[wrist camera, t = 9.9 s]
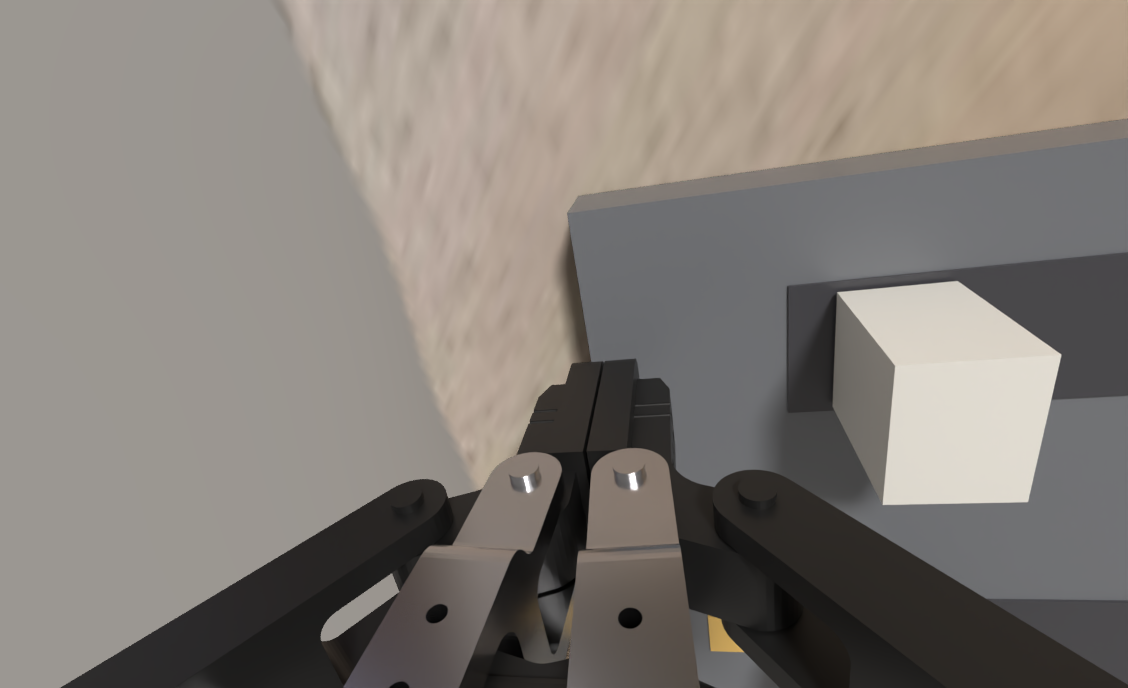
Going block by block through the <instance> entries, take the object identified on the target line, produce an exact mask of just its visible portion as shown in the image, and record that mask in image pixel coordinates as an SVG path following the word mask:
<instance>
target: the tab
mask: <svg viewBox="0 0 1128 688" xmlns="http://www.w3.org/2000/svg"><path fill="white" fill-rule="evenodd" d="M1060 359H1061V354H1060V353H1058V352H1057V351H1056V350H1054V349H1053V348H1051V347H1050V346H1049V345H1047V344H1046V343H1044V342H1043V341H1042V340H1040V339H1039V338H1037V337H1036V336H1034V335H1033V334H1032V333H1030V332H1029V331H1027V330H1026V329H1025V328H1023V327H1022V326H1020V325H1019V324H1018V323H1016V322H1015V321H1013V320H1012V319H1011V318H1009V317H1008V316H1006V315H1005V314H1003V313H1002V312H1001V311H999V310H998V309H996V308H995V307H994V306H992V305H991V304H989V303H988V302H987V301H985V300H984V299H982V298H981V297H979V296H978V295H977V294H975V293H974V292H972V291H971V290H970V289H968V288H967V287H965V286H964V285H963V284H961V283H960V282H958V281H952V282H941V283H931V284H920V285H909V286H899V287H888V288H878V289H867V290H856V291H846V292H837V305H836V331H835V356H834V381H833V406H832V407H833V409H834V410H835V412H836V414H837V416H838V418H839V420H840V422H841V424H842V426H843V428H844V430H845V432H846V434H847V436H848V438H849V440H850V442H851V444H852V446H853V448H854V450H855V452H856V454H857V456H858V458H859V460H860V462H861V464H862V465H863V467H864V469H865V471H866V473H867V475H868V477H869V479H870V481H871V483H872V485H873V487H874V489H875V491H876V493H877V495H878V497H879V499H880V501H881V503H882V505H909V504H961V503H1013V502H1028V500H1029V495H1030V491H1031V487H1032V482H1033V478H1034V473H1035V469H1036V465H1037V460H1038V456H1039V451H1040V447H1041V443H1042V438H1043V434H1044V429H1045V425H1046V421H1047V416H1048V412H1049V408H1050V403H1051V399H1052V394H1053V390H1054V386H1055V381H1056V377H1057V372H1058V368H1059V364H1060Z"/></svg>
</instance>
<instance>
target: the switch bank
mask: <svg viewBox="0 0 1128 688" xmlns="http://www.w3.org/2000/svg"><path fill="white" fill-rule="evenodd" d="M567 215H568V222H569V228H570V234H571V240H572V246H573V252H574V258H575V265H576V271H577V277H578V283H579V289H580V295H581V301H582V308H583V314H584V320H585V326H586V332H587V338H588V344H589V350H590V357H591V362H598V361H603V362H605V361H610V360H623V359H636V360H637V364H638V370H639V378H640V379H649V378H661V379H662V381H663V382H664V383H665V384H666V385H667V386H668V388H669V389H670V398H671V408H672V417H673V427H674V437H675V453H676V470H677V471H678V472H679V473H680V474H681V475H682V476H684V477H685V478H687V479H689V480H691V481H693V482H696V483H698V484H702V485H707V486H711V487H715V486H716V484H717V483H718V482H719V481H720V480H721V479H722V478H724V477H725V476H727V475H729V474H731V473H734V472H738V471H743V470H765V471H770V472H774V473H777V474H780V475H782V476H784V477H786V478H788V479H790V480H791V481H793V482H795V483H796V484H798V485H800V486H801V487H803V488H805V489H806V490H808V491H810V492H811V493H813V494H815V495H816V496H818V497H819V498H821V499H823V500H824V501H826V502H828V503H829V504H831V505H833V506H834V507H836V508H838V509H839V510H841V511H843V512H844V513H846V514H847V515H849V516H851V517H852V518H854V519H856V520H857V521H859V522H861V523H862V524H864V525H866V526H867V527H869V528H871V529H872V530H874V531H875V532H877V533H879V534H880V535H882V536H884V537H885V538H887V539H889V540H890V541H892V542H894V543H895V544H897V545H899V546H900V547H902V548H903V549H905V550H907V551H908V552H910V553H912V554H913V555H915V556H917V557H918V558H920V559H922V560H923V561H925V562H927V563H928V564H930V565H931V566H933V567H935V568H936V569H938V570H940V571H941V572H943V573H945V574H946V575H948V576H950V577H951V578H953V579H955V580H956V581H958V582H959V583H961V584H963V585H964V586H966V587H968V588H969V589H971V590H973V591H974V592H976V593H978V594H979V595H981V596H983V597H984V598H986V599H987V600H989V601H991V602H992V603H994V604H996V605H997V606H999V607H1001V608H1002V609H1004V610H1006V611H1007V612H1009V613H1011V614H1012V615H1014V616H1015V617H1017V618H1019V619H1020V620H1022V621H1024V622H1025V623H1027V624H1029V625H1030V626H1032V627H1034V628H1035V629H1037V630H1039V631H1040V632H1042V633H1043V634H1045V635H1047V636H1048V637H1050V638H1052V639H1053V640H1055V641H1057V642H1058V643H1060V644H1062V645H1063V646H1065V647H1067V648H1068V649H1070V650H1071V651H1073V652H1075V653H1076V654H1078V655H1080V656H1081V657H1083V658H1085V659H1086V660H1088V661H1090V662H1091V663H1093V664H1095V665H1096V666H1098V667H1099V668H1101V669H1103V670H1104V671H1106V672H1108V673H1109V674H1111V675H1113V676H1114V677H1116V678H1118V679H1119V680H1121V681H1123V682H1124V683H1126V684H1127V685H1128V119H1122V120H1115V121H1108V122H1101V123H1094V124H1087V125H1080V126H1072V127H1065V128H1058V129H1051V130H1044V131H1037V132H1030V133H1023V134H1016V135H1008V136H1001V137H994V138H987V139H980V140H973V141H966V142H959V143H952V144H944V145H937V146H930V147H923V148H916V149H909V150H902V151H895V152H888V153H880V154H873V155H866V156H859V157H852V158H845V159H838V160H831V161H824V162H816V163H809V164H802V165H795V166H788V167H781V168H774V169H767V170H760V171H753V172H745V173H738V174H731V175H724V176H717V177H710V178H703V179H696V180H689V181H681V182H674V183H667V184H660V185H653V186H646V187H639V188H632V189H625V190H617V191H610V192H603V193H596V194H589V195H582V196H578V198H577V199H576V201H575V202H574V204H573V205H572V207H571V208H570V210H569V211H568V213H567ZM952 281H958V282H960V283H961V284H963V285H964V286H965V287H967V288H968V289H970V290H971V291H972V292H974V293H975V294H977V295H978V296H979V297H981V298H982V299H984V300H985V301H987V302H988V303H989V304H991V305H992V306H994V307H995V308H996V309H998V310H999V311H1001V312H1002V313H1003V314H1005V315H1006V316H1008V317H1009V318H1011V319H1012V320H1013V321H1015V322H1016V323H1018V324H1019V325H1020V326H1022V327H1023V328H1025V329H1026V330H1027V331H1029V332H1030V333H1032V334H1033V335H1034V336H1036V337H1037V338H1039V339H1040V340H1042V341H1043V342H1044V343H1046V344H1047V345H1049V346H1050V347H1051V348H1053V349H1054V350H1056V351H1057V352H1058V353H1060V354H1061V359H1060V364H1059V368H1058V372H1057V377H1056V381H1055V386H1054V390H1053V394H1052V399H1051V403H1050V408H1049V412H1048V416H1047V421H1046V425H1045V429H1044V434H1043V438H1042V443H1041V447H1040V451H1039V456H1038V460H1037V465H1036V469H1035V473H1034V478H1033V482H1032V487H1031V491H1030V495H1029V500H1028V502H1013V503H961V504H909V505H882V503H881V501H880V499H879V497H878V495H877V493H876V491H875V489H874V487H873V485H872V483H871V481H870V479H869V477H868V475H867V473H866V471H865V469H864V467H863V465H862V464H861V462H860V460H859V458H858V456H857V454H856V452H855V450H854V448H853V446H852V444H851V442H850V440H849V438H848V436H847V434H846V432H845V430H844V428H843V426H842V424H841V422H840V420H839V418H838V416H837V414H836V412H835V410H834V409H833V407H832V406H833V381H834V356H835V331H836V305H837V292H846V291H856V290H867V289H878V288H888V287H899V286H909V285H920V284H931V283H941V282H952ZM689 613H690V620H691V627H692V634H693V642H694V649H695V656H696V663H697V671H698V678H699V680H700V681H702V682H704V683H706V684H709V685H711V686H713V687H715V688H779V687H778V686H777V685H776V684H775V683H774V682H773V681H772V680H771V679H770V678H769V677H768V676H767V675H766V674H765V673H764V672H763V671H762V670H761V669H760V668H759V667H758V666H757V664H756V663H755V662H754V661H753V660H752V659H751V658H750V657H749V656H748V655H747V654H746V653H745V652H744V651H743V650H742V649H741V648H740V647H739V646H738V645H737V644H736V643H735V642H734V641H733V640H732V639H731V638H730V637H729V636H728V635H727V633H726V631H725V630H724V627H723V625H722V621H721V619H719V618H716V617H713V616H710V615H707V614H703V613H700V612H697V611H694V610H691V609H689Z"/></svg>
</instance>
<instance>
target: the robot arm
mask: <svg viewBox="0 0 1128 688" xmlns="http://www.w3.org/2000/svg"><path fill="white" fill-rule="evenodd" d="M391 573H392V574H393V576H394V579H395V582H396V584H397V587H398V589H399V591H400V592H399V593H398V594H396V595H395V596H394V597H392V598H391V599H389V600H388V601H386V602H385V603H384V604H382V605H381V606H380V607H378V608H377V609H375V610H374V611H373V612H371V613H370V614H369V615H367V616H366V617H364V618H363V619H362V620H360V621H359V622H358V623H356V624H355V625H353V626H352V627H351V628H349V629H348V630H346V631H345V632H344V633H342V634H341V635H339V636H338V637H336V638H335V639H332V640H330V641H323V642H322V641H321V638H320V636H321V631H322V628H323V626H324V624H325V623H326V621H327V620H328V619H329V617H330V616H332V615H333V614H334V613H335V612H336V611H338V610H339V609H341V608H342V607H344V606H345V605H346V604H348V603H349V602H351V601H352V600H354V599H355V598H356V597H358V596H359V595H361V594H362V593H364V592H365V591H367V590H368V589H369V588H371V587H372V586H374V585H375V584H377V583H378V582H380V581H381V580H382V579H384V578H385V577H387V576H388V575H390V574H391ZM689 609H691V610H694V611H697V612H700V613H703V614H707V615H710V616H713V617H716V618H719V619H721V621H722V625H723V627H724V630H725V631H726V633H727V635H728V636H729V637H730V638H731V639H732V640H733V641H734V642H735V643H736V644H737V645H738V646H739V647H740V648H741V649H742V650H743V651H744V652H745V653H746V654H747V655H748V656H749V657H750V658H751V659H752V660H753V661H754V662H755V663H756V664H757V666H758V667H759V668H760V669H761V670H762V671H763V672H764V673H765V674H766V675H767V676H768V677H769V678H770V679H771V680H772V681H773V682H774V683H775V684H776V685H777V686H778V687H779V688H1128V685H1127V684H1126V683H1124V682H1123V681H1121V680H1119V679H1118V678H1116V677H1114V676H1113V675H1111V674H1109V673H1108V672H1106V671H1104V670H1103V669H1101V668H1099V667H1098V666H1096V665H1095V664H1093V663H1091V662H1090V661H1088V660H1086V659H1085V658H1083V657H1081V656H1080V655H1078V654H1076V653H1075V652H1073V651H1071V650H1070V649H1068V648H1067V647H1065V646H1063V645H1062V644H1060V643H1058V642H1057V641H1055V640H1053V639H1052V638H1050V637H1048V636H1047V635H1045V634H1043V633H1042V632H1040V631H1039V630H1037V629H1035V628H1034V627H1032V626H1030V625H1029V624H1027V623H1025V622H1024V621H1022V620H1020V619H1019V618H1017V617H1015V616H1014V615H1012V614H1011V613H1009V612H1007V611H1006V610H1004V609H1002V608H1001V607H999V606H997V605H996V604H994V603H992V602H991V601H989V600H987V599H986V598H984V597H983V596H981V595H979V594H978V593H976V592H974V591H973V590H971V589H969V588H968V587H966V586H964V585H963V584H961V583H959V582H958V581H956V580H955V579H953V578H951V577H950V576H948V575H946V574H945V573H943V572H941V571H940V570H938V569H936V568H935V567H933V566H931V565H930V564H928V563H927V562H925V561H923V560H922V559H920V558H918V557H917V556H915V555H913V554H912V553H910V552H908V551H907V550H905V549H903V548H902V547H900V546H899V545H897V544H895V543H894V542H892V541H890V540H889V539H887V538H885V537H884V536H882V535H880V534H879V533H877V532H875V531H874V530H872V529H871V528H869V527H867V526H866V525H864V524H862V523H861V522H859V521H857V520H856V519H854V518H852V517H851V516H849V515H847V514H846V513H844V512H843V511H841V510H839V509H838V508H836V507H834V506H833V505H831V504H829V503H828V502H826V501H824V500H823V499H821V498H819V497H818V496H816V495H815V494H813V493H811V492H810V491H808V490H806V489H805V488H803V487H801V486H800V485H798V484H796V483H795V482H793V481H791V480H790V479H788V478H786V477H784V476H782V475H780V474H777V473H774V472H770V471H765V470H743V471H738V472H734V473H731V474H729V475H727V476H725V477H724V478H722V479H721V480H720V481H719V482H718V483H717V484H716V486H715V487H711V486H707V485H702V484H698V483H696V482H693V481H691V480H689V479H687V478H685V477H684V476H682V475H681V474H680V473H679V472H678V471H677V470H676V453H675V437H674V427H673V417H672V408H671V398H670V389H669V388H668V386H667V385H666V384H665V383H664V382H663V381H662V379H661V378H649V379H640V378H639V370H638V364H637V360H636V359H623V360H610V361H605V362H603V361H598V362H585V363H573V364H572V365H571V368H570V371H569V374H568V378H567V381H566V384H562V385H551V386H550V387H549V388H548V389H547V390H546V391H545V392H544V393H543V394H542V395H541V396H540V397H539V398H538V401H537V403H536V406H535V409H534V413H533V414H532V416H531V419H530V424H528V427H527V429H526V432H525V435H524V437H523V440H522V443H521V445H520V448H519V450H518V453H517V455H516V456H513V457H511V458H509V459H507V460H505V461H503V462H502V463H500V464H499V465H498V466H497V467H496V468H495V469H494V470H493V471H492V473H491V474H490V476H489V478H488V480H487V482H486V484H485V485H484V487H483V489H481V490H478V491H475V492H471V493H467V494H463V495H460V496H456V497H452V498H448V496H447V493H446V490H445V488H444V486H443V485H442V484H441V483H439V482H437V481H434V480H429V479H420V480H413V481H409V482H406V483H403V484H401V485H398V486H396V487H395V488H393V489H391V490H389V491H388V492H386V493H384V494H382V495H381V496H379V497H377V498H376V499H374V500H372V501H371V502H369V503H367V504H366V505H364V506H362V507H361V508H360V509H358V510H356V511H354V512H352V513H351V514H349V515H348V516H346V517H344V518H342V519H341V520H339V521H338V522H336V523H334V524H333V525H331V526H329V527H328V528H326V529H324V530H322V531H321V532H319V533H318V534H316V535H314V536H312V537H311V538H309V539H307V540H306V541H304V542H302V543H301V544H299V545H298V546H296V547H294V548H293V549H291V550H289V551H287V552H286V553H284V554H282V555H281V556H279V557H278V558H276V559H274V560H273V561H271V562H269V563H267V564H266V565H264V566H263V567H261V568H259V569H258V570H256V571H254V572H252V573H251V574H250V575H247V576H246V577H244V578H242V579H241V580H239V581H237V582H236V583H234V584H232V585H231V586H229V587H228V588H226V589H224V590H222V591H221V592H219V593H217V594H216V595H214V596H212V597H211V598H209V599H207V600H206V601H204V602H202V603H201V604H199V605H197V606H196V607H194V608H193V609H191V610H189V611H188V612H186V613H184V614H182V615H181V616H179V617H178V618H176V619H174V620H172V621H171V622H169V623H167V624H166V625H164V626H162V627H161V628H159V629H158V630H156V631H154V632H152V633H151V634H149V635H148V636H146V637H144V638H142V639H141V640H139V641H137V642H136V643H134V644H132V645H131V646H129V647H128V648H126V649H124V650H122V651H121V652H119V653H118V654H116V655H114V656H113V657H111V658H109V659H108V660H106V661H104V662H102V663H101V664H99V665H97V666H96V667H94V668H93V669H91V670H89V671H88V672H86V673H84V674H82V675H81V676H79V677H77V678H76V679H74V680H72V681H71V682H70V683H68V684H66V685H64V686H62V687H61V688H715V687H713V686H711V685H709V684H706V683H704V682H702V681H700V680H699V678H698V671H697V663H696V656H695V649H694V642H693V634H692V627H691V620H690V613H689ZM570 639H571V643H570ZM569 643H570V655H569V659H566V655H567V651H568V647H569Z"/></svg>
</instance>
